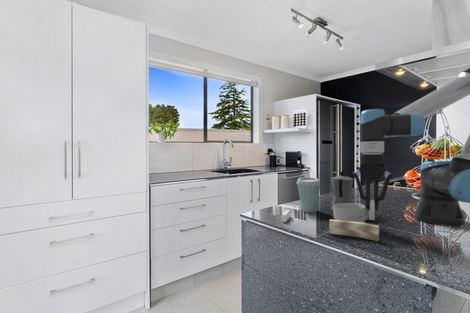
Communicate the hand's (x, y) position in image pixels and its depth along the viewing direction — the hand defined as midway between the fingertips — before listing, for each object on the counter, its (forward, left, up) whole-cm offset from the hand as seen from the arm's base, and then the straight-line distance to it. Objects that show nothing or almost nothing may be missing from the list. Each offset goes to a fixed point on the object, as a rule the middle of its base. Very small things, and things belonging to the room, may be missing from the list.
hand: (371, 218), depth 90 cm
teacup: (+6, 0, -4) cm, 7 cm away
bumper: (+31, 0, -3) cm, 31 cm away
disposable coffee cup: (+25, -17, -4) cm, 30 cm away
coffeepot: (+11, -21, -4) cm, 24 cm away
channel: (+6, 0, -3) cm, 7 cm away
